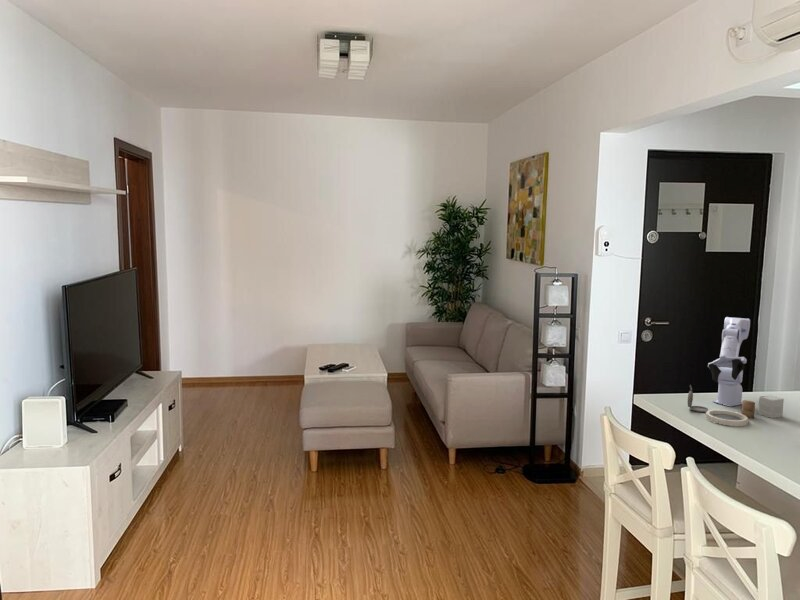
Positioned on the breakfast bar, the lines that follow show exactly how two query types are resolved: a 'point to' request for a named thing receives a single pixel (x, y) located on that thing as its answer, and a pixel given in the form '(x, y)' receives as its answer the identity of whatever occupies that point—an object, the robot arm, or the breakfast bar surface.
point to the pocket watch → (695, 408)
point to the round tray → (727, 417)
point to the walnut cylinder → (748, 408)
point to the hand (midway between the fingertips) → (724, 379)
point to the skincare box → (770, 406)
